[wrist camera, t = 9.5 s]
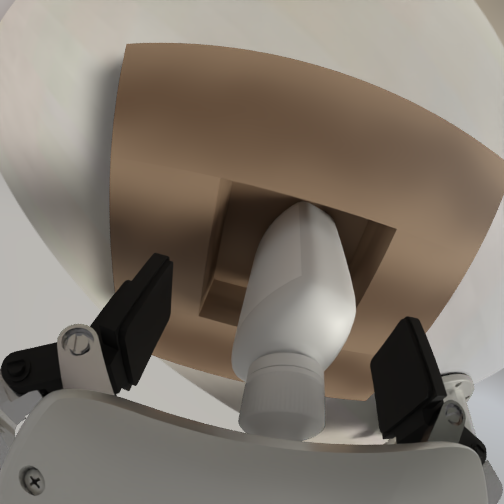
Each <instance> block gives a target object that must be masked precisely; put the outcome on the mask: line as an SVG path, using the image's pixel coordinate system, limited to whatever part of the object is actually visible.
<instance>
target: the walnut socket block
mask: <svg viewBox="0 0 504 504" xmlns="http://www.w3.org/2000/svg"><path fill="white" fill-rule="evenodd" d="M503 195H504V160H503V159H502V158H501V157H499V156H498V155H497V154H495V153H494V152H493V151H491V150H490V149H489V148H487V147H486V146H485V145H483V144H482V143H480V142H479V141H477V140H476V139H475V138H473V137H472V136H470V135H469V134H467V133H465V132H464V131H462V130H461V129H459V128H458V127H456V126H454V125H453V124H451V123H449V122H448V121H446V120H444V119H443V118H441V117H439V116H437V115H436V114H434V113H432V112H430V111H428V110H426V109H424V108H423V107H421V106H419V105H417V104H415V103H413V102H411V101H409V100H407V99H404V98H402V97H400V96H398V95H396V94H394V93H391V92H389V91H387V90H385V89H382V88H380V87H377V86H375V85H373V84H370V83H367V82H365V81H362V80H360V79H357V78H354V77H351V76H349V75H346V74H343V73H340V72H337V71H334V70H331V69H327V68H324V67H321V66H317V65H314V64H310V63H306V62H303V61H299V60H295V59H291V58H286V57H282V56H277V55H273V54H268V53H262V52H257V51H251V50H245V49H238V48H230V47H222V46H213V45H201V44H184V43H136V44H127V45H126V49H125V54H124V59H123V64H122V69H121V74H120V80H119V86H118V92H117V99H116V106H115V114H114V123H113V133H112V146H111V162H110V239H111V256H112V268H113V279H114V288H115V293H116V291H117V290H118V289H119V288H120V286H121V285H122V284H123V283H124V282H125V281H126V280H131V281H132V280H133V278H134V277H135V276H136V275H137V273H138V272H139V271H140V269H141V268H142V267H143V266H144V264H145V263H146V262H147V261H148V260H149V258H150V257H151V256H152V255H153V254H154V253H159V254H162V255H166V256H169V258H170V261H173V279H172V298H171V315H170V319H169V321H168V323H167V325H166V327H165V329H164V331H163V333H162V335H161V337H160V339H159V341H158V343H157V345H156V347H155V349H154V351H153V353H152V355H153V356H156V357H159V358H162V359H165V360H168V361H171V362H174V363H177V364H180V365H183V366H186V367H190V368H193V369H196V370H200V371H203V372H207V373H210V374H214V375H218V376H222V377H225V378H229V379H233V380H237V381H242V382H244V381H243V380H241V379H240V378H239V377H237V375H236V374H235V373H234V371H233V368H232V362H231V356H232V349H233V343H234V339H235V335H236V330H237V326H238V322H239V318H240V314H241V310H242V306H243V302H244V298H245V294H246V290H247V286H248V282H249V278H250V273H251V269H252V265H253V261H254V258H255V254H256V251H257V248H258V246H259V243H260V241H261V239H262V237H263V235H264V234H265V232H266V231H267V229H268V228H269V226H270V225H271V224H272V223H273V222H274V220H275V219H276V218H277V217H278V216H280V215H281V214H282V213H283V212H284V211H285V210H287V209H288V208H289V207H291V206H292V205H294V204H296V203H297V202H302V201H305V202H309V203H311V204H312V205H314V206H316V207H318V208H319V209H321V210H323V211H324V212H326V213H327V214H329V215H330V216H331V217H332V218H333V219H334V222H335V225H336V228H337V231H338V235H339V238H340V241H341V244H342V248H343V251H344V255H345V258H346V262H347V266H348V269H349V273H350V277H351V281H352V285H353V290H354V295H355V302H356V314H355V318H354V322H353V325H352V328H351V331H350V333H349V335H348V338H347V340H346V342H345V344H344V346H343V347H342V349H341V351H340V352H339V354H338V355H337V357H336V358H335V359H334V361H333V362H332V363H331V364H330V366H329V367H328V368H327V369H326V370H325V371H324V388H325V397H331V398H339V399H349V400H360V401H366V400H367V399H368V398H369V397H370V396H371V395H372V394H373V393H374V387H373V381H372V375H371V369H370V362H371V360H372V358H373V357H374V355H375V354H376V353H377V352H378V350H379V349H380V348H381V346H382V345H383V344H384V342H385V341H386V340H387V338H388V337H389V336H390V334H391V333H392V331H393V330H394V329H395V327H396V326H397V324H398V323H399V321H400V320H401V319H404V318H405V317H406V316H409V317H414V318H418V319H419V320H420V322H421V324H422V327H423V329H424V332H425V333H426V332H427V331H428V329H429V328H430V327H431V325H432V324H433V323H434V321H435V320H436V318H437V317H438V316H439V314H440V313H441V311H442V310H443V308H444V307H445V305H446V304H447V302H448V301H449V299H450V298H451V296H452V295H453V293H454V292H455V290H456V289H457V287H458V285H459V284H460V282H461V280H462V279H463V277H464V275H465V274H466V272H467V270H468V268H469V267H470V265H471V263H472V261H473V260H474V258H475V256H476V254H477V252H478V250H479V248H480V246H481V244H482V242H483V240H484V238H485V236H486V234H487V232H488V230H489V228H490V226H491V223H492V221H493V219H494V217H495V214H496V212H497V210H498V207H499V205H500V202H501V200H502V197H503Z"/></svg>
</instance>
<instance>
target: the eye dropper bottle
mask: <svg viewBox="0 0 504 504" xmlns="http://www.w3.org/2000/svg"><path fill="white" fill-rule="evenodd" d="M355 314H356V302H355V295H354V290H353V285H352V281H351V277H350V273H349V269H348V266H347V262H346V258H345V255H344V251H343V248H342V244H341V241H340V238H339V235H338V231H337V228H336V225H335V222H334V219H333V218H332V217H331V216H330V215H329V214H327V213H326V212H324V211H323V210H321V209H319V208H318V207H316V206H314V205H312V204H311V203H309V202H305V201H302V202H297V203H296V204H294V205H292V206H291V207H289V208H288V209H287V210H285V211H284V212H283V213H282V214H281V215H280V216H278V217H277V218H276V219H275V220H274V222H273V223H272V224H271V225H270V226H269V228H268V229H267V231H266V232H265V234H264V235H263V237H262V239H261V241H260V243H259V246H258V248H257V251H256V254H255V258H254V261H253V265H252V269H251V273H250V278H249V282H248V286H247V290H246V294H245V298H244V302H243V306H242V310H241V314H240V318H239V322H238V326H237V330H236V335H235V339H234V343H233V349H232V356H231V362H232V368H233V371H234V373H235V374H236V375H237V377H239V378H240V379H241V380H243V381H244V382H246V384H245V389H244V394H243V400H242V405H241V410H240V415H239V425H240V427H241V428H242V429H243V430H244V431H245V432H246V433H248V434H253V435H259V436H265V437H271V438H278V439H285V440H293V441H303V440H307V439H310V438H312V437H314V436H316V435H318V434H319V433H320V432H321V431H322V430H323V429H324V427H325V388H324V371H325V370H326V369H327V368H328V367H329V366H330V364H331V363H332V362H333V361H334V359H335V358H336V357H337V355H338V354H339V352H340V351H341V349H342V347H343V346H344V344H345V342H346V340H347V338H348V335H349V333H350V331H351V328H352V325H353V322H354V318H355Z"/></svg>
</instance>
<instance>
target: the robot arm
mask: <svg viewBox="0 0 504 504" xmlns="http://www.w3.org/2000/svg"><path fill="white" fill-rule="evenodd" d="M172 279H173V261H170V258H169V256H166V255H162V254H159V253H154V254H153V255H152V256H151V257H150V258H149V260H148V261H147V262H146V263H145V264H144V266H143V267H142V268H141V269H140V271H139V272H138V273H137V275H136V276H135V277H134V278H133V280H132V281H131V280H126V281H125V282H124V283H123V284H122V285H121V286H120V288H119V289H118V290H117V291H116V293H115V294H114V295H113V296H112V298H111V299H110V300H109V302H108V303H107V304H106V306H105V307H104V308H103V309H102V311H101V312H100V314H99V315H98V317H97V318H96V319H95V320H94V322H93V323H92V324H91V326H90V327H89V326H87V325H84V324H74V325H71V326H68V327H67V328H65V329H64V330H63V331H62V332H61V333H60V334H59V337H58V340H57V342H56V343H52V344H47V345H43V346H39V347H34V348H30V349H25V350H21V351H16V352H13V353H11V354H9V355H8V356H7V357H6V358H5V359H4V361H3V363H2V366H1V369H0V504H497V503H498V501H499V499H500V498H501V496H502V491H503V489H502V484H501V482H500V480H499V478H498V477H497V475H496V473H495V471H494V470H493V468H492V466H491V465H490V463H489V461H488V460H487V461H485V460H486V448H485V445H484V444H483V443H482V442H481V441H480V440H479V439H478V438H477V437H476V433H475V430H474V426H473V423H472V419H471V416H470V412H469V409H468V405H467V403H466V402H467V401H468V400H469V399H470V397H471V396H472V394H473V391H474V384H473V381H472V379H471V378H470V377H469V376H467V375H465V374H451V375H447V376H442V377H441V374H440V371H439V368H438V366H437V363H436V360H435V357H434V355H433V352H432V349H431V347H430V344H429V342H428V339H427V337H426V334H425V332H424V329H423V327H422V324H421V322H420V320H419V319H418V318H414V317H409V316H406V317H405V318H404V319H401V320H400V321H399V323H398V324H397V326H396V327H395V329H394V330H393V331H392V333H391V334H390V336H389V337H388V338H387V340H386V341H385V342H384V344H383V345H382V346H381V348H380V349H379V350H378V352H377V353H376V354H375V355H374V357H373V358H372V360H371V362H370V369H371V375H372V381H373V387H374V393H375V399H376V406H377V414H378V421H379V429H380V432H382V436H383V439H389V440H388V442H386V443H385V444H383V445H345V444H325V443H312V442H302V441H293V440H285V439H278V438H271V437H265V436H259V435H253V434H248V433H242V432H238V431H233V430H229V429H224V428H220V427H216V426H212V425H208V424H204V423H200V422H197V421H193V420H190V419H186V418H182V417H179V416H176V415H172V414H169V413H166V412H163V411H160V410H157V409H154V408H151V407H148V406H145V405H142V404H139V403H135V402H133V401H130V400H127V399H124V398H121V397H117V395H116V394H117V393H119V392H120V390H121V388H123V389H125V390H127V391H129V390H130V388H131V386H132V385H135V386H136V385H137V384H138V382H139V380H140V378H141V376H142V373H143V371H144V369H145V367H146V365H147V363H148V361H149V359H150V357H151V355H152V353H153V351H154V349H155V347H156V345H157V343H158V341H159V339H160V337H161V335H162V333H163V331H164V329H165V327H166V325H167V323H168V321H169V319H170V315H171V298H172ZM29 413H30V414H29ZM28 414H29V415H28ZM26 415H28V417H27V418H26V417H25V416H26ZM24 419H26V420H25V422H24V423H23V425H22V426H21V428H20V430H19V432H18V433H17V435H16V437H15V429H16V426H17V425H18V424H19V423H20V422H21V421H23V420H24Z"/></svg>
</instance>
